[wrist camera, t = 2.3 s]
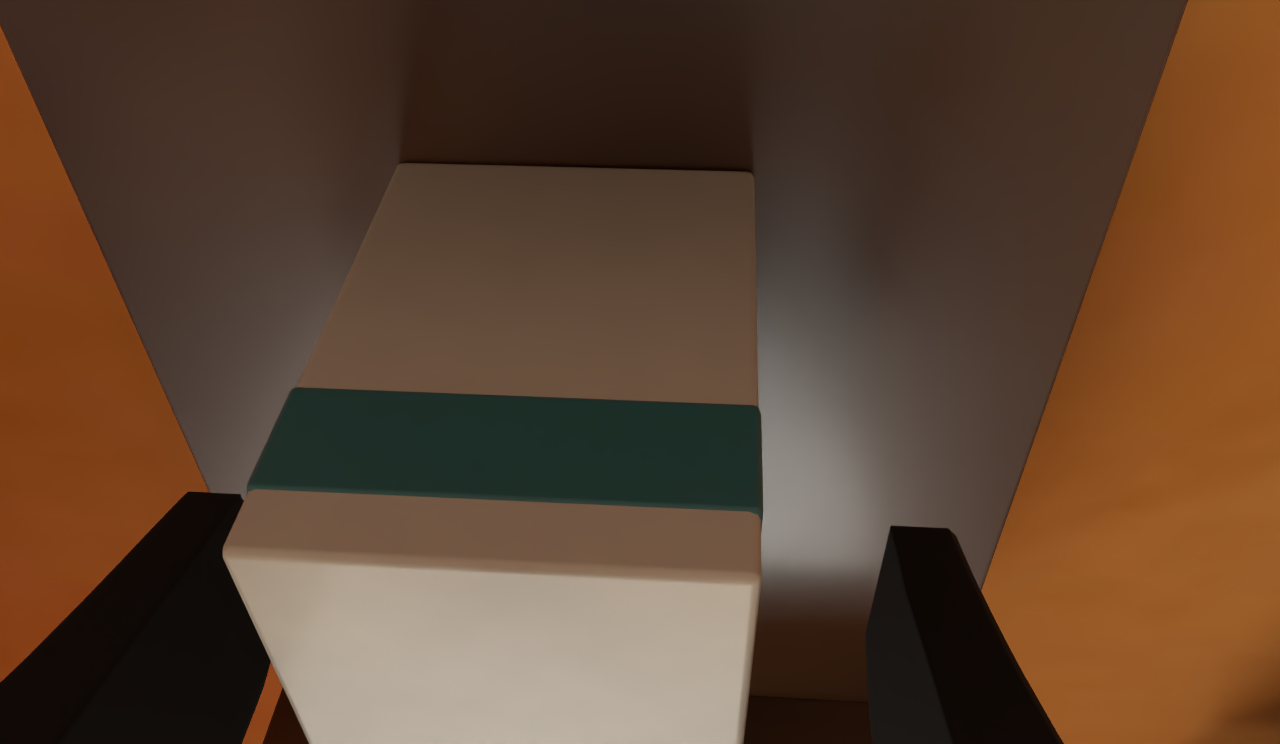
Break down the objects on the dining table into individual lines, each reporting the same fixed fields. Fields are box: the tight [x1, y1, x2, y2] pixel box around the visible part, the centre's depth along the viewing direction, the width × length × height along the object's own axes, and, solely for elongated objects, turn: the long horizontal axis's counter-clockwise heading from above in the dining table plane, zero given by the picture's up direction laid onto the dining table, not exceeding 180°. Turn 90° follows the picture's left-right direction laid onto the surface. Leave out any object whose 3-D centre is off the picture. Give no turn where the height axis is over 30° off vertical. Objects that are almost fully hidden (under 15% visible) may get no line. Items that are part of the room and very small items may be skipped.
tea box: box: [223, 163, 763, 744], centre depth 12 cm, size 4×7×6 cm, turn 1°
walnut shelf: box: [0, 0, 1188, 744], centre depth 14 cm, size 12×18×6 cm, turn 1°
